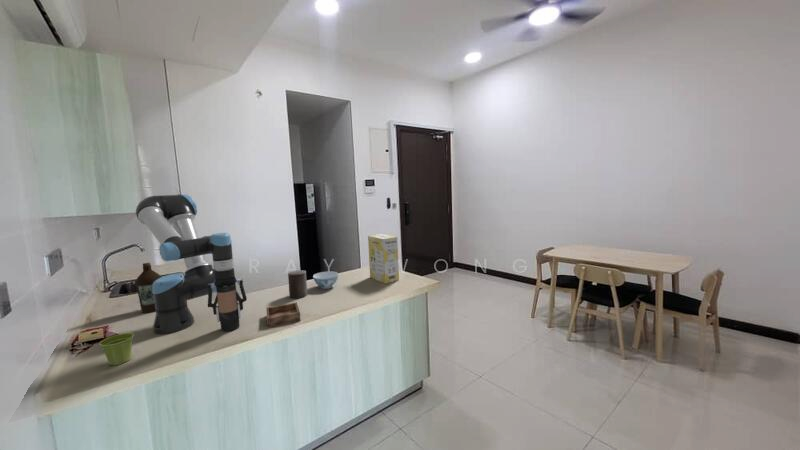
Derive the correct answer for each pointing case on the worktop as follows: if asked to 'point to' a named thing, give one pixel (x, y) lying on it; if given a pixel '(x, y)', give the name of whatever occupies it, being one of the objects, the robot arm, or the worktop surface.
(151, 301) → the olive oil
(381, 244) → the pasta box
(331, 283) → the chinaware
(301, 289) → the pillar candle
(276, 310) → the walnut caddy
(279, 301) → the worktop surface
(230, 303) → the travel mug
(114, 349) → the plant pot
